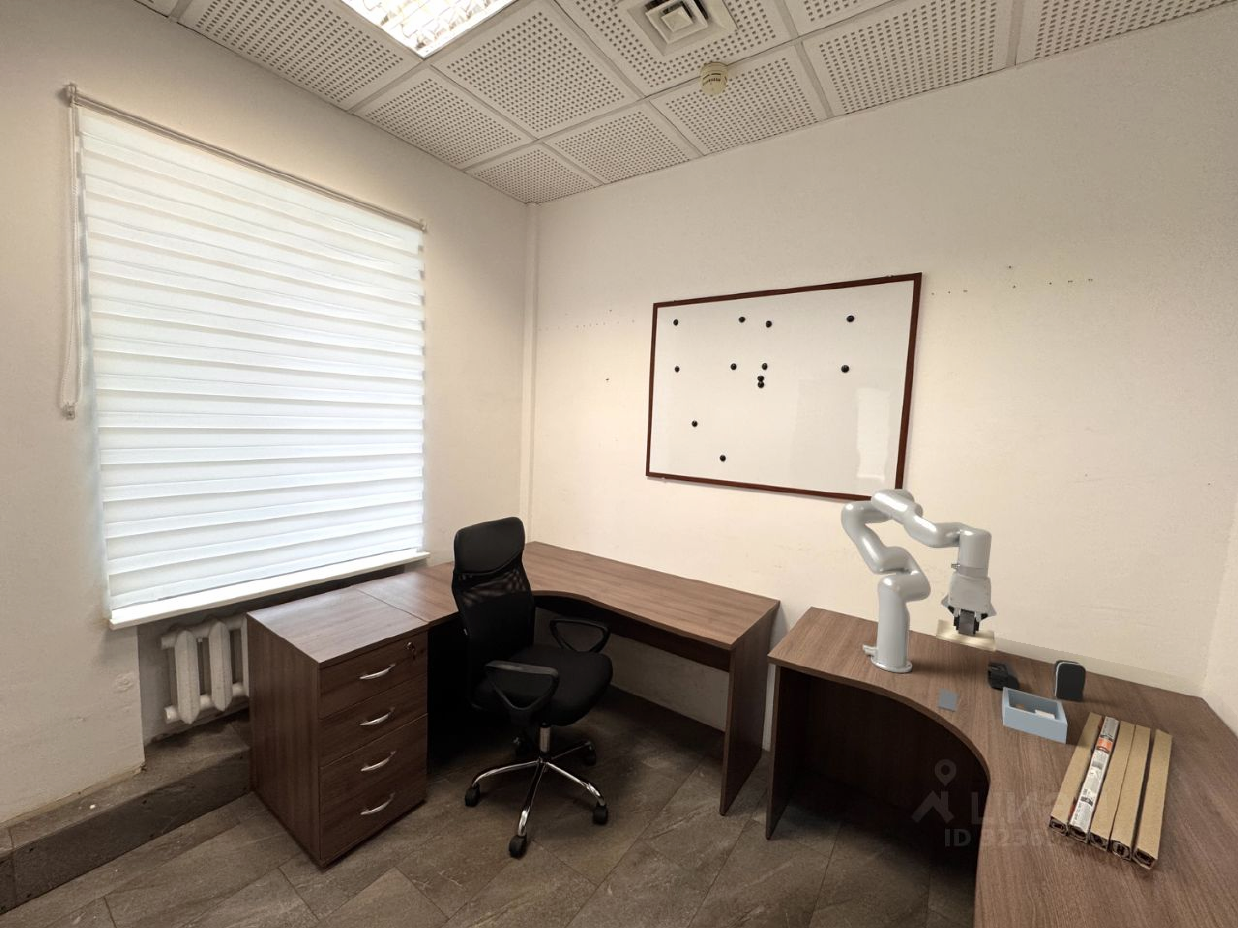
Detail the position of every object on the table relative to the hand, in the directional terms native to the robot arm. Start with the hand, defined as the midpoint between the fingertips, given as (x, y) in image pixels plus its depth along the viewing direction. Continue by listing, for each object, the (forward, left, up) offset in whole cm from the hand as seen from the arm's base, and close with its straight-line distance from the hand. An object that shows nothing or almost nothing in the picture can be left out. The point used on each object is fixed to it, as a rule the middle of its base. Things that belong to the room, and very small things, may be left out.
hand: (965, 630), depth 149 cm
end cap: (+11, +20, -23) cm, 32 cm away
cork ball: (+14, +2, -21) cm, 25 cm away
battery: (+27, +25, -23) cm, 43 cm away
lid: (0, 0, -2) cm, 2 cm away
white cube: (+19, -2, -22) cm, 30 cm away
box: (+17, 0, -23) cm, 28 cm away
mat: (0, 0, -23) cm, 23 cm away
